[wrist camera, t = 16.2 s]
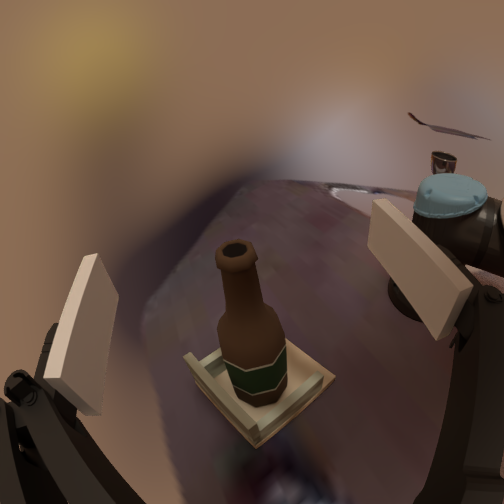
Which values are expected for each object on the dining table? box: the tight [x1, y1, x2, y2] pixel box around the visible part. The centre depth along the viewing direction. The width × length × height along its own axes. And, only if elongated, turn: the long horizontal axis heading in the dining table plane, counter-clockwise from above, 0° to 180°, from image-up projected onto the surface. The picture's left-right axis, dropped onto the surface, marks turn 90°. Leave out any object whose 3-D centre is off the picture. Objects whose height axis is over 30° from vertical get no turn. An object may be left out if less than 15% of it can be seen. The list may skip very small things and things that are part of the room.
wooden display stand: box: [183, 338, 336, 449], centre depth 38 cm, size 15×14×8 cm
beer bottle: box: [215, 239, 288, 407], centre depth 32 cm, size 8×8×24 cm
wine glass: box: [431, 151, 457, 175], centre depth 72 cm, size 8×8×15 cm
